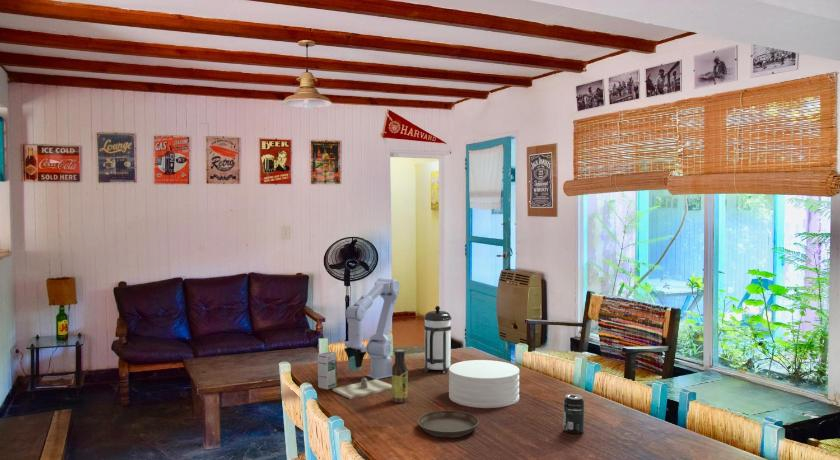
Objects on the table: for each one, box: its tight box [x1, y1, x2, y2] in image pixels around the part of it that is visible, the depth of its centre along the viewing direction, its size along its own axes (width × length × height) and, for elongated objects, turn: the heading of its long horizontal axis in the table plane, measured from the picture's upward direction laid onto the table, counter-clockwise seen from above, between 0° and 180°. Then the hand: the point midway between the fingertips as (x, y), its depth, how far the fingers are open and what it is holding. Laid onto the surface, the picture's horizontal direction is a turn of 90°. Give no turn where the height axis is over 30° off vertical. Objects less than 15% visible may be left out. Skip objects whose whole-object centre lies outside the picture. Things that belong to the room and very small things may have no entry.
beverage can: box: [563, 393, 585, 434], centre depth 211 cm, size 7×7×12 cm
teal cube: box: [348, 356, 362, 372], centre depth 264 cm, size 5×5×5 cm
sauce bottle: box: [391, 349, 409, 403], centre depth 244 cm, size 7×6×20 cm
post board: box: [332, 377, 392, 400], centre depth 258 cm, size 22×14×5 cm, turn 128°
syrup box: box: [317, 350, 338, 390], centre depth 262 cm, size 6×6×14 cm
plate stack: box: [448, 359, 520, 409], centre depth 249 cm, size 28×28×12 cm
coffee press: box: [422, 305, 452, 374], centre depth 288 cm, size 17×16×30 cm
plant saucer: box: [417, 410, 479, 439], centre depth 213 cm, size 21×21×3 cm
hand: (355, 365), depth 264 cm, fingers closed on teal cube, 5 cm apart
